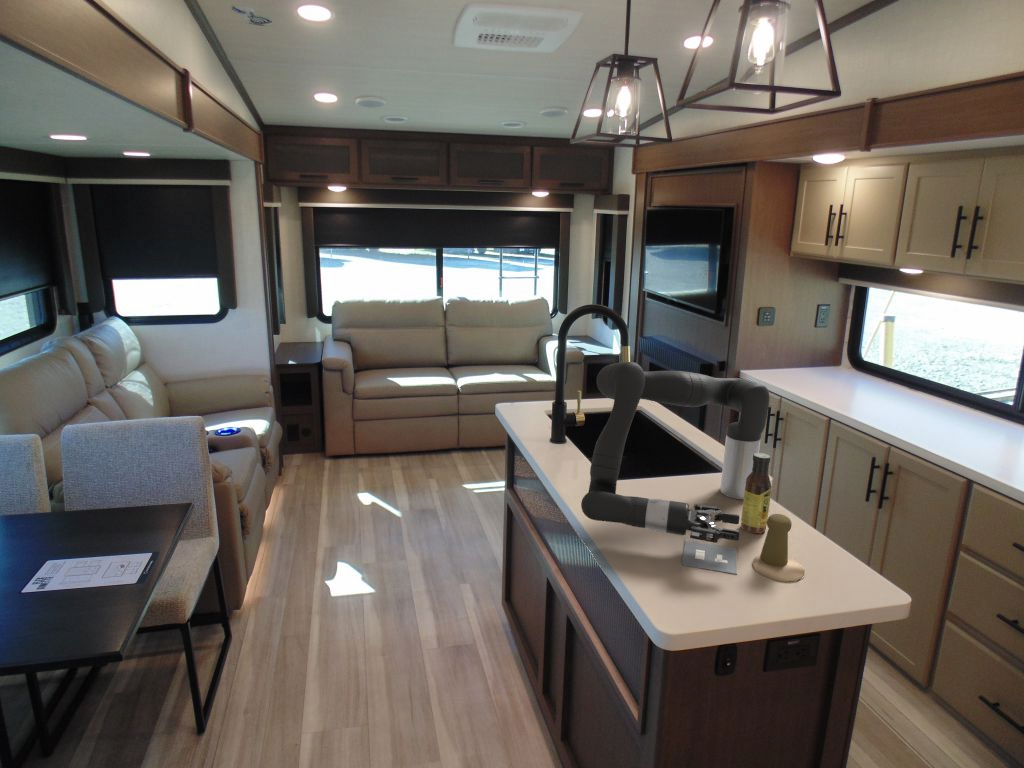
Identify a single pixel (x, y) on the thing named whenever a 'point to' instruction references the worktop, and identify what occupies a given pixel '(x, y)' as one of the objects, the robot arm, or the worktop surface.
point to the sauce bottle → (757, 496)
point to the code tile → (710, 557)
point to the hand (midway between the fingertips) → (739, 527)
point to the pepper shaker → (776, 540)
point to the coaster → (779, 570)
